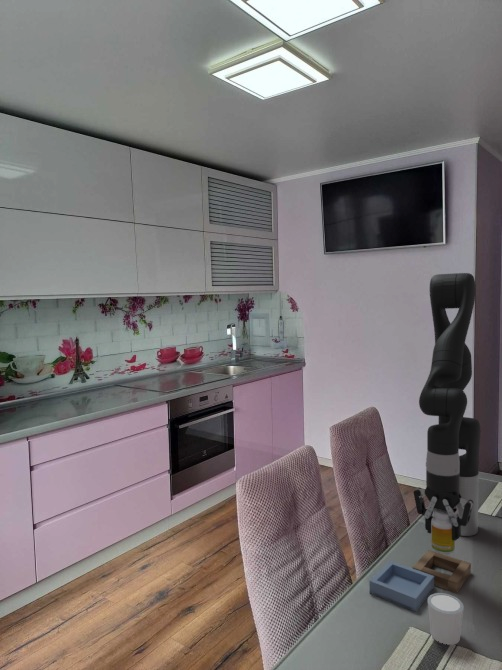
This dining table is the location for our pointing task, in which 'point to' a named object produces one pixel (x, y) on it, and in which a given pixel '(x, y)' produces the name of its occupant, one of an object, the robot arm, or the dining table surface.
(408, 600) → the tray
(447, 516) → the supplement bottle
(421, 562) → the collar
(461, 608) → the shot glass
